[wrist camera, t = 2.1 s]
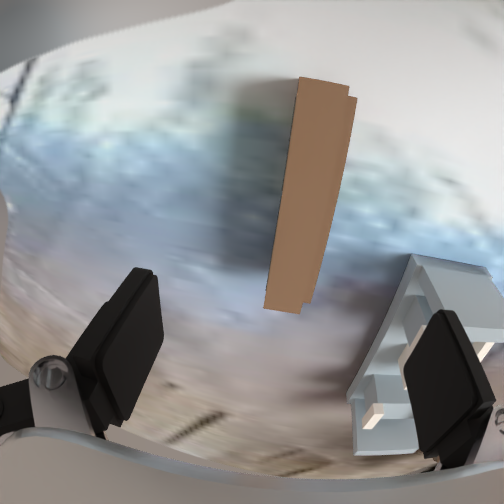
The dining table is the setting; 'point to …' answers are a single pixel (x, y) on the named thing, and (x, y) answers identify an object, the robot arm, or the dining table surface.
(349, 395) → the display cradle
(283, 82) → the dining table surface
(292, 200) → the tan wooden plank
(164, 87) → the dining table surface
